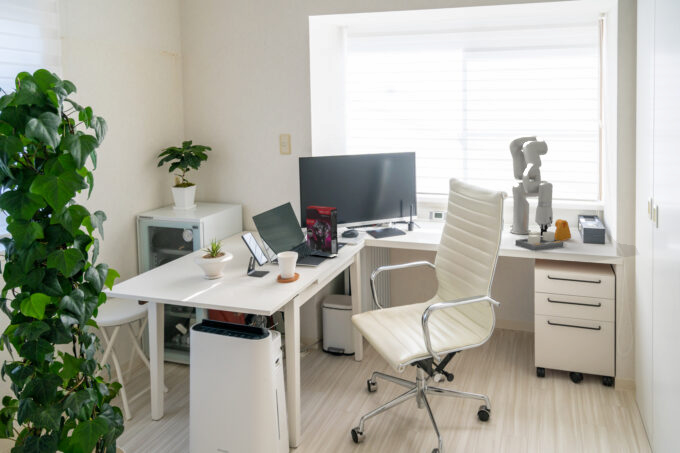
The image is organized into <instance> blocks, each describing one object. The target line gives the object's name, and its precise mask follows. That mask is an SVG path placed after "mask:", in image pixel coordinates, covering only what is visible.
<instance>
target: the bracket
mask: <svg viewBox="0 0 680 453" xmlns="http://www.w3.org/2000/svg"><path fill="white" fill-rule="evenodd" d="M554 226H555V227H556V229H555V232H554V233H555V236H554V239H556V240H559V241H563V242H564V241H568V239H571V238H572V233H571V231H570V226H569V223H568V221H567V220H566V219H565V220H564V219H561V218H559V219H557V220H555V223H554Z"/></svg>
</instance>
